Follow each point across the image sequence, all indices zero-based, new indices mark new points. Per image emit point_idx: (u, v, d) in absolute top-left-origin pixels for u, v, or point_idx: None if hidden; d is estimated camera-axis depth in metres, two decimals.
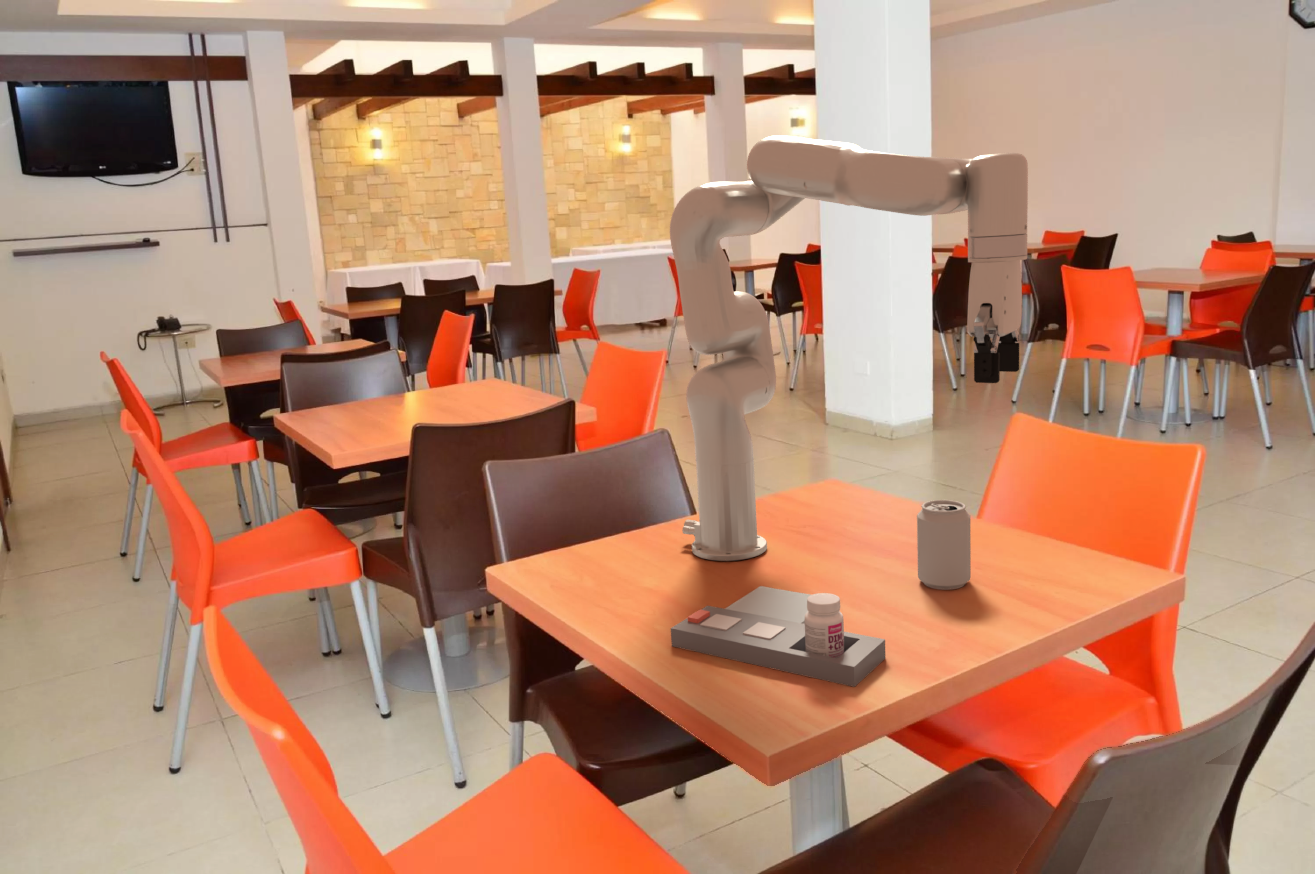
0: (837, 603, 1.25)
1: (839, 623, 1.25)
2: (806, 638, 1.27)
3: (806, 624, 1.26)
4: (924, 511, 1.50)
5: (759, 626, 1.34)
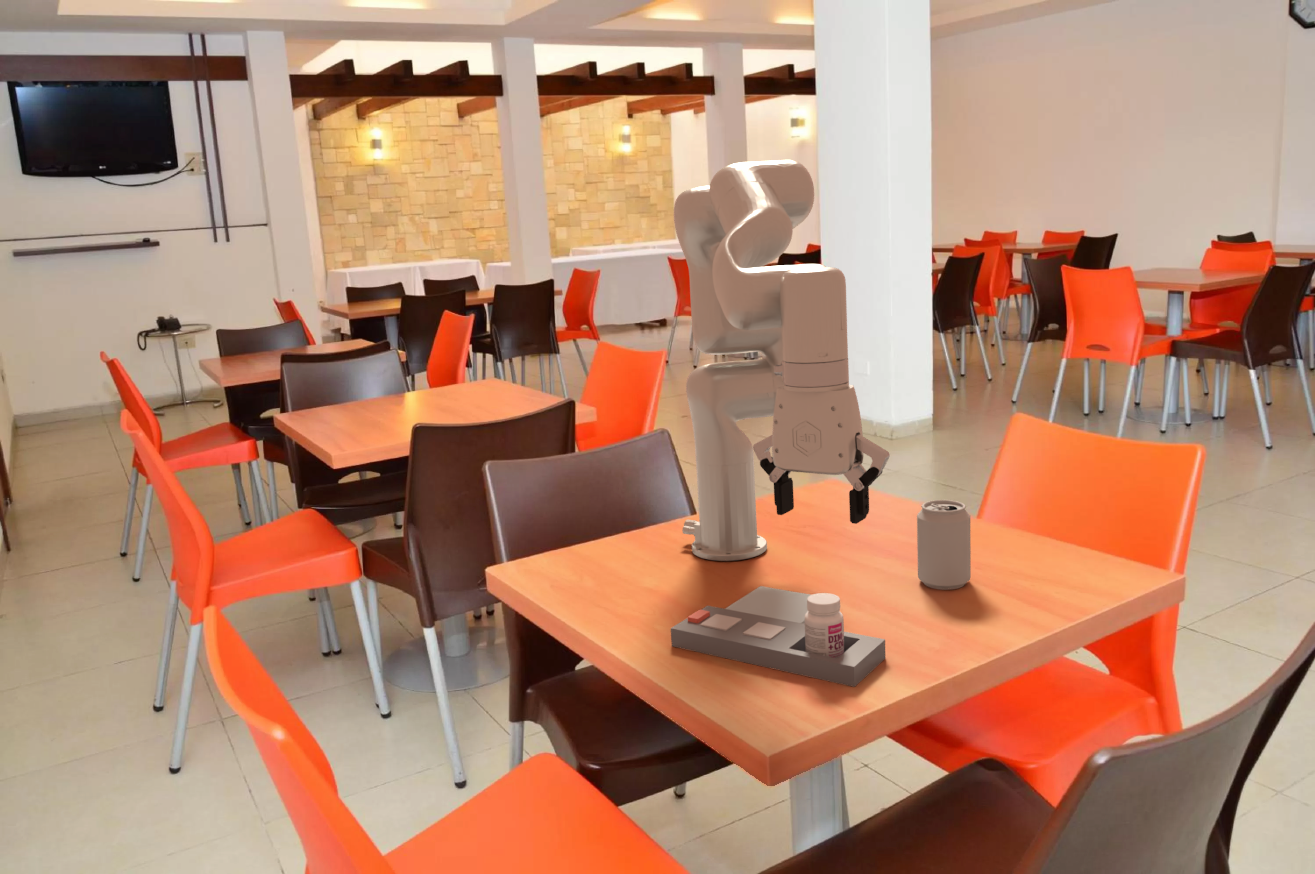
0: (837, 603, 1.25)
1: (839, 623, 1.25)
2: (806, 638, 1.27)
3: (806, 624, 1.26)
4: (924, 511, 1.50)
5: (759, 626, 1.34)
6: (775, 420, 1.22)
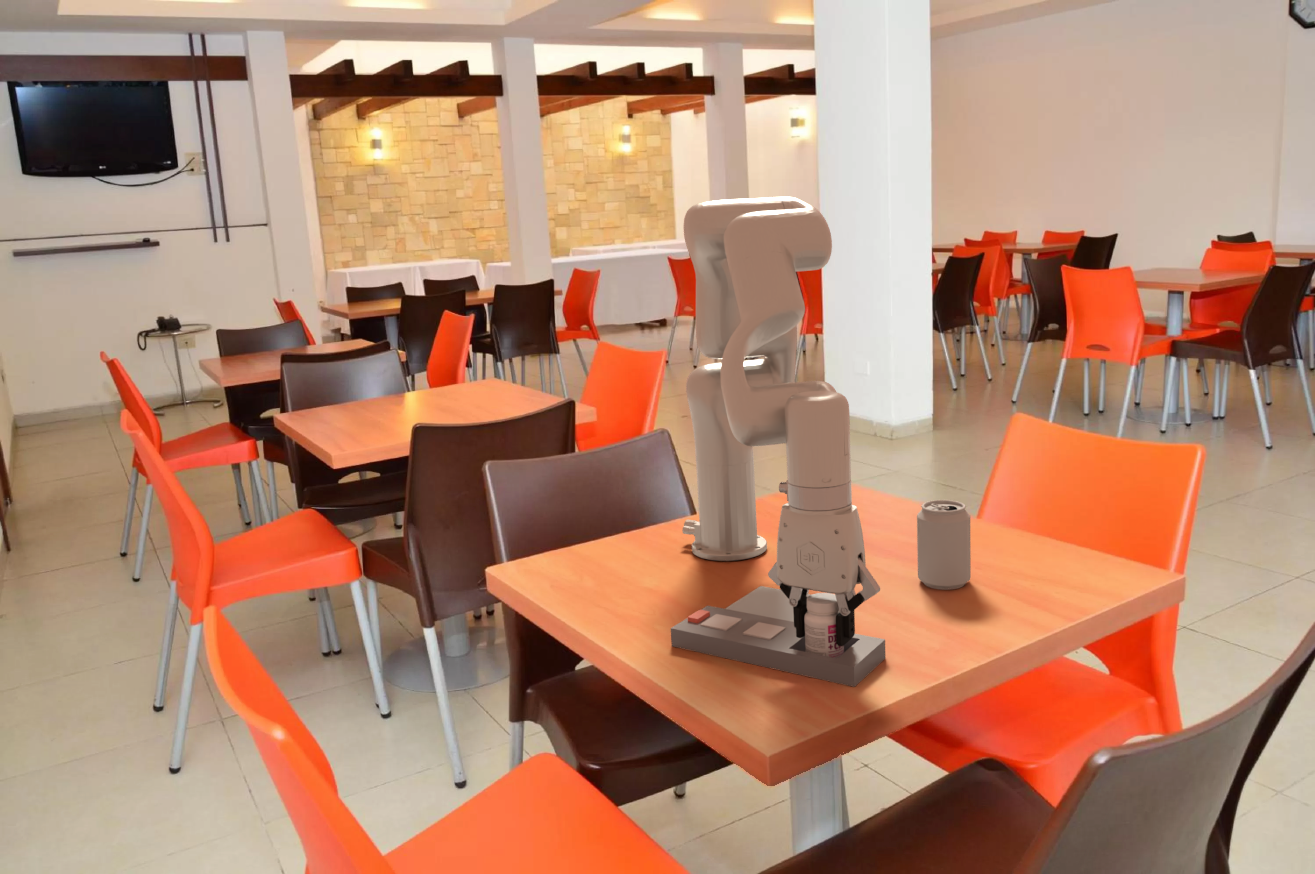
0: None
1: None
2: (806, 638, 1.27)
3: (806, 624, 1.26)
4: (924, 511, 1.50)
5: (759, 626, 1.34)
6: (779, 537, 1.25)
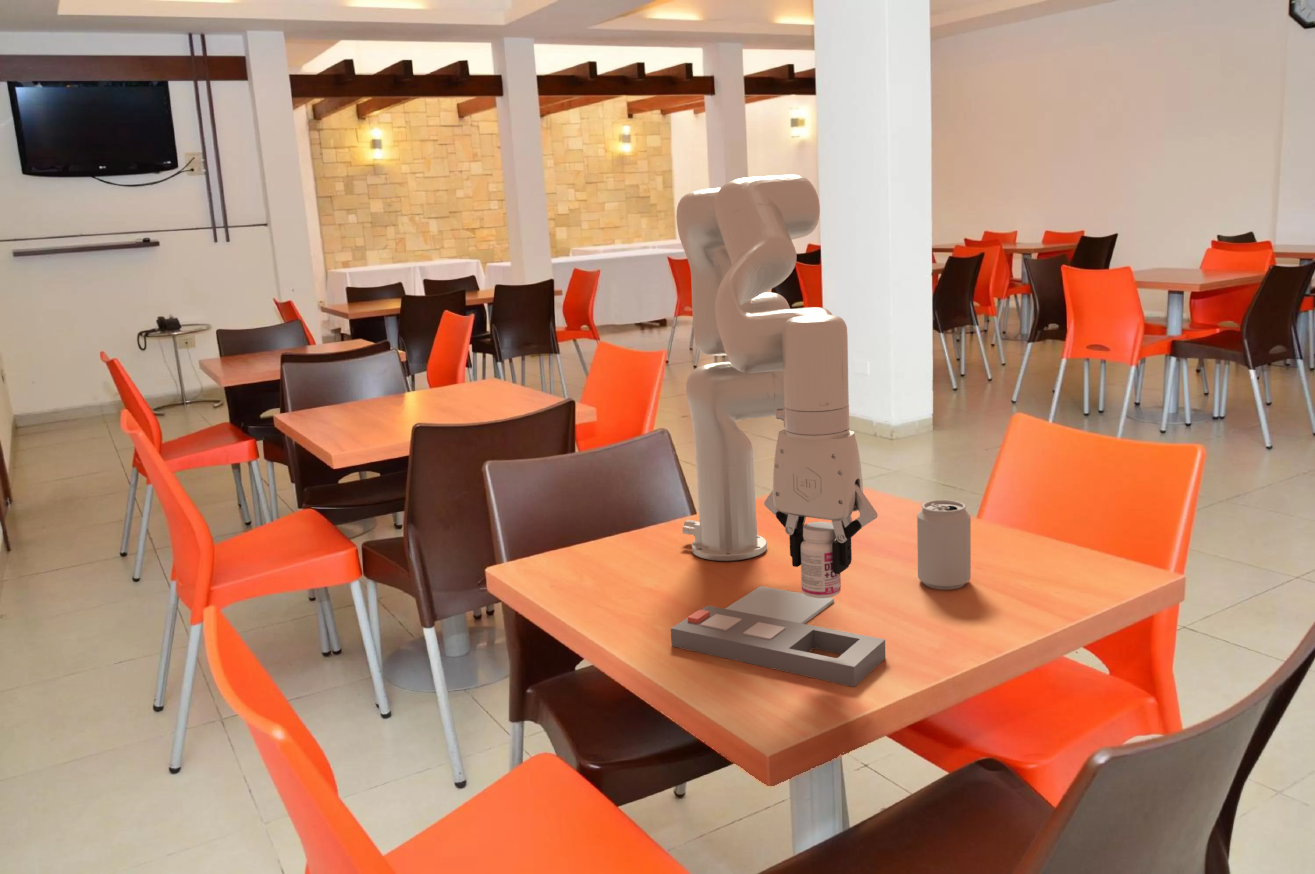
0: (833, 530, 1.24)
1: None
2: (802, 566, 1.26)
3: (802, 552, 1.25)
4: (924, 511, 1.50)
5: (759, 626, 1.34)
6: (775, 464, 1.24)
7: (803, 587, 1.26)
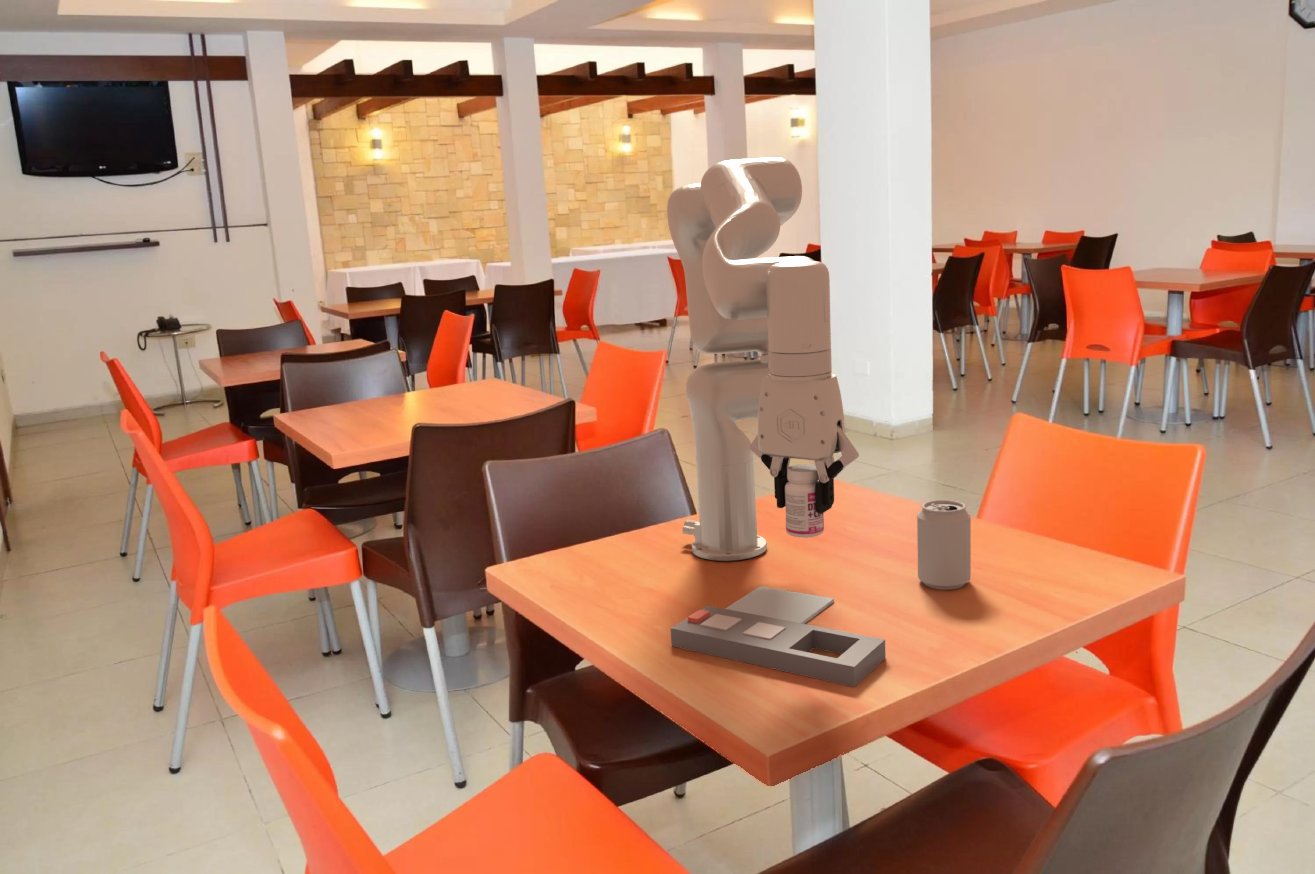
0: (816, 471, 1.28)
1: None
2: (786, 507, 1.29)
3: (786, 493, 1.29)
4: (924, 511, 1.50)
5: (759, 626, 1.34)
6: (760, 407, 1.28)
7: (787, 527, 1.30)
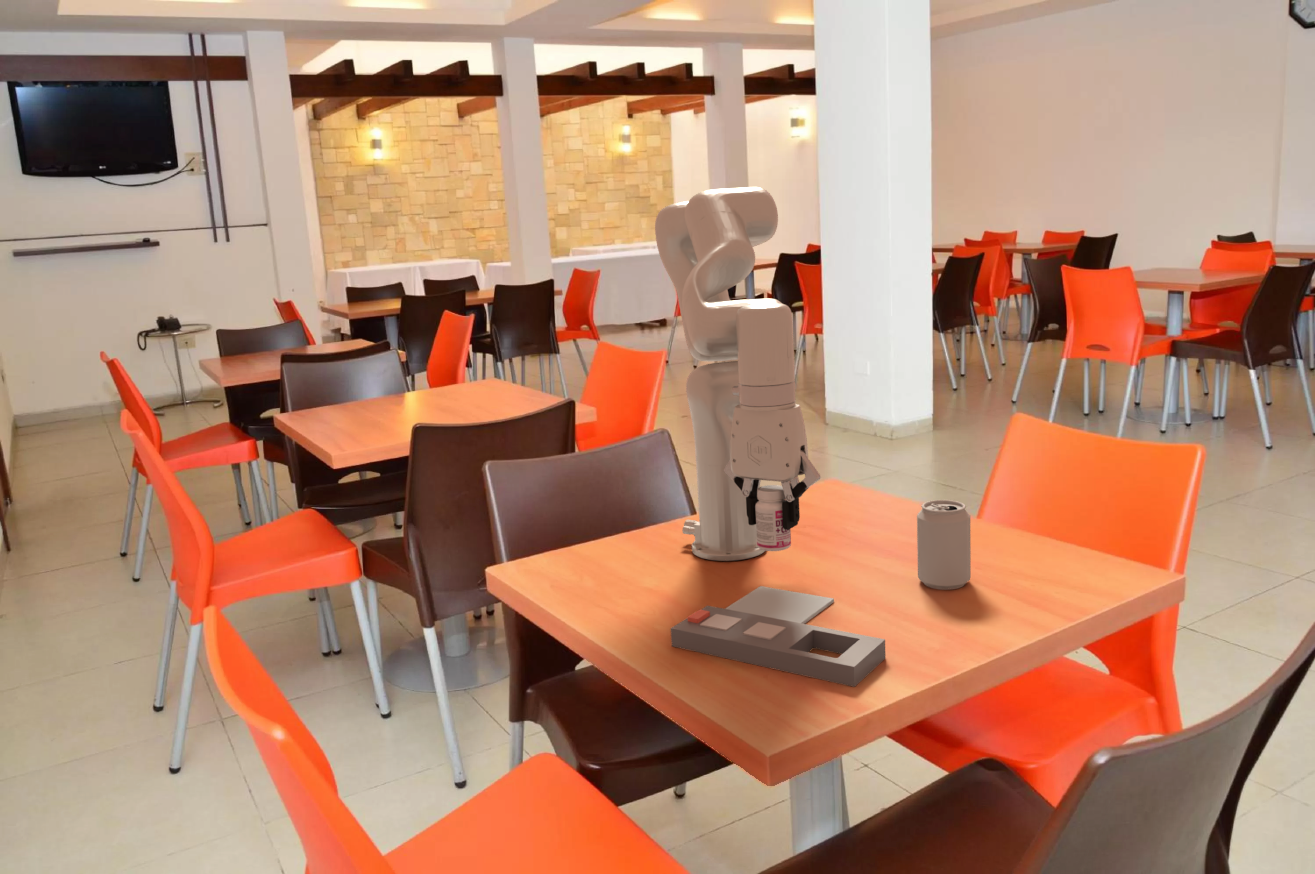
0: (783, 491, 1.42)
1: None
2: (757, 523, 1.43)
3: (756, 511, 1.43)
4: (924, 511, 1.50)
5: (759, 626, 1.34)
6: (732, 434, 1.42)
7: (758, 542, 1.44)
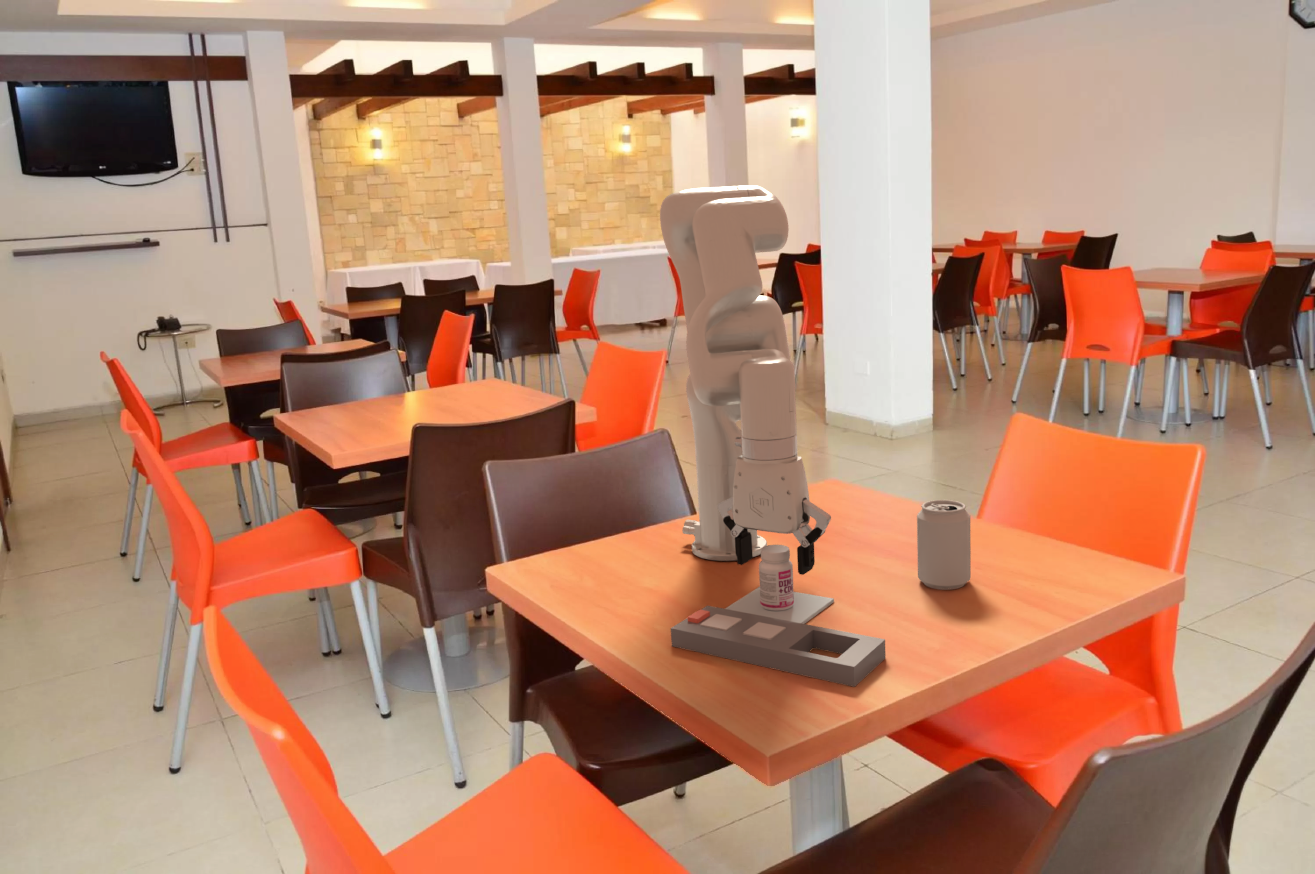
0: (786, 552, 1.44)
1: (789, 570, 1.44)
2: (760, 583, 1.45)
3: (760, 571, 1.45)
4: (924, 511, 1.50)
5: (759, 626, 1.34)
6: (735, 485, 1.43)
7: (761, 601, 1.46)
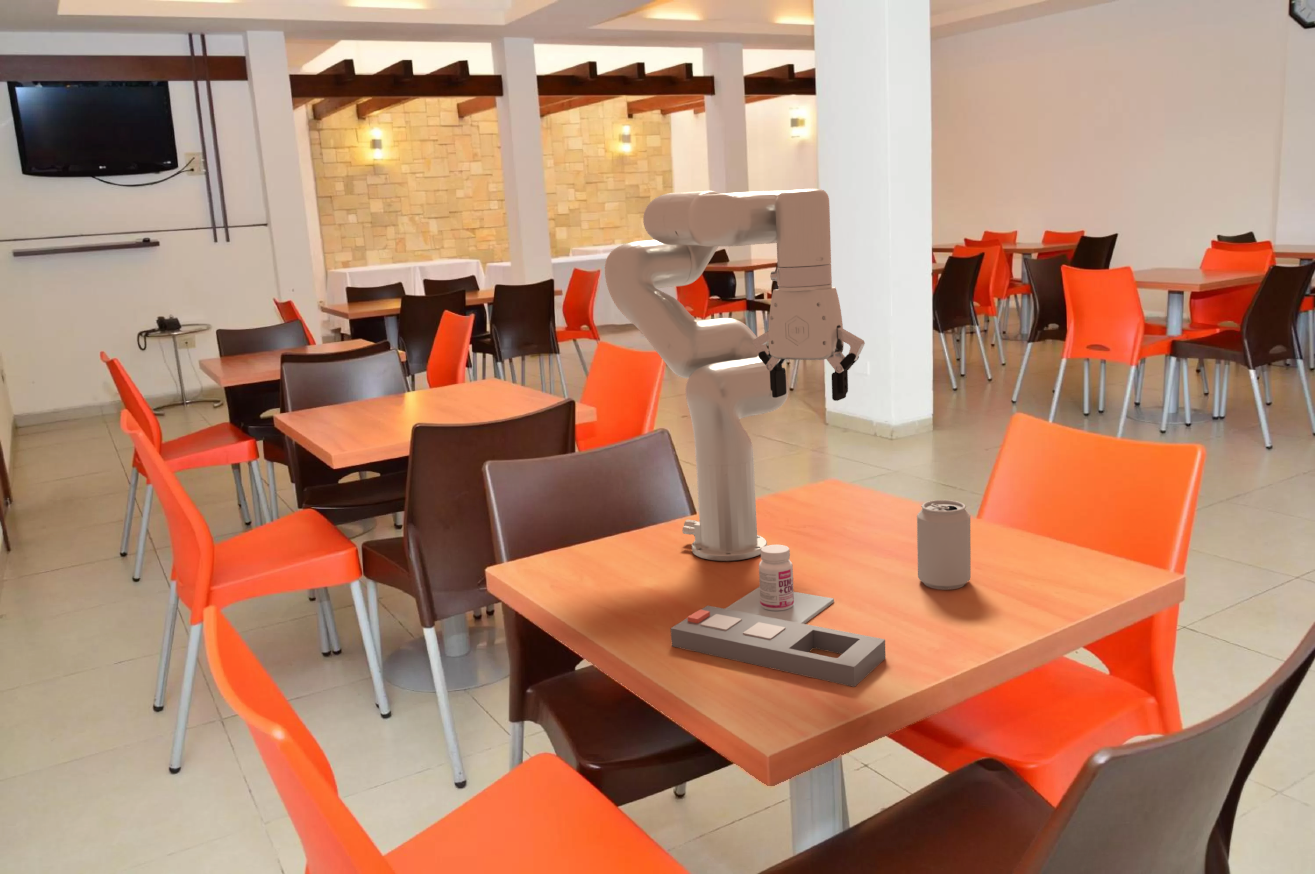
0: (786, 552, 1.44)
1: (789, 570, 1.44)
2: (760, 583, 1.45)
3: (760, 571, 1.45)
4: (924, 511, 1.50)
5: (759, 626, 1.34)
6: (770, 317, 1.48)
7: (761, 601, 1.46)
